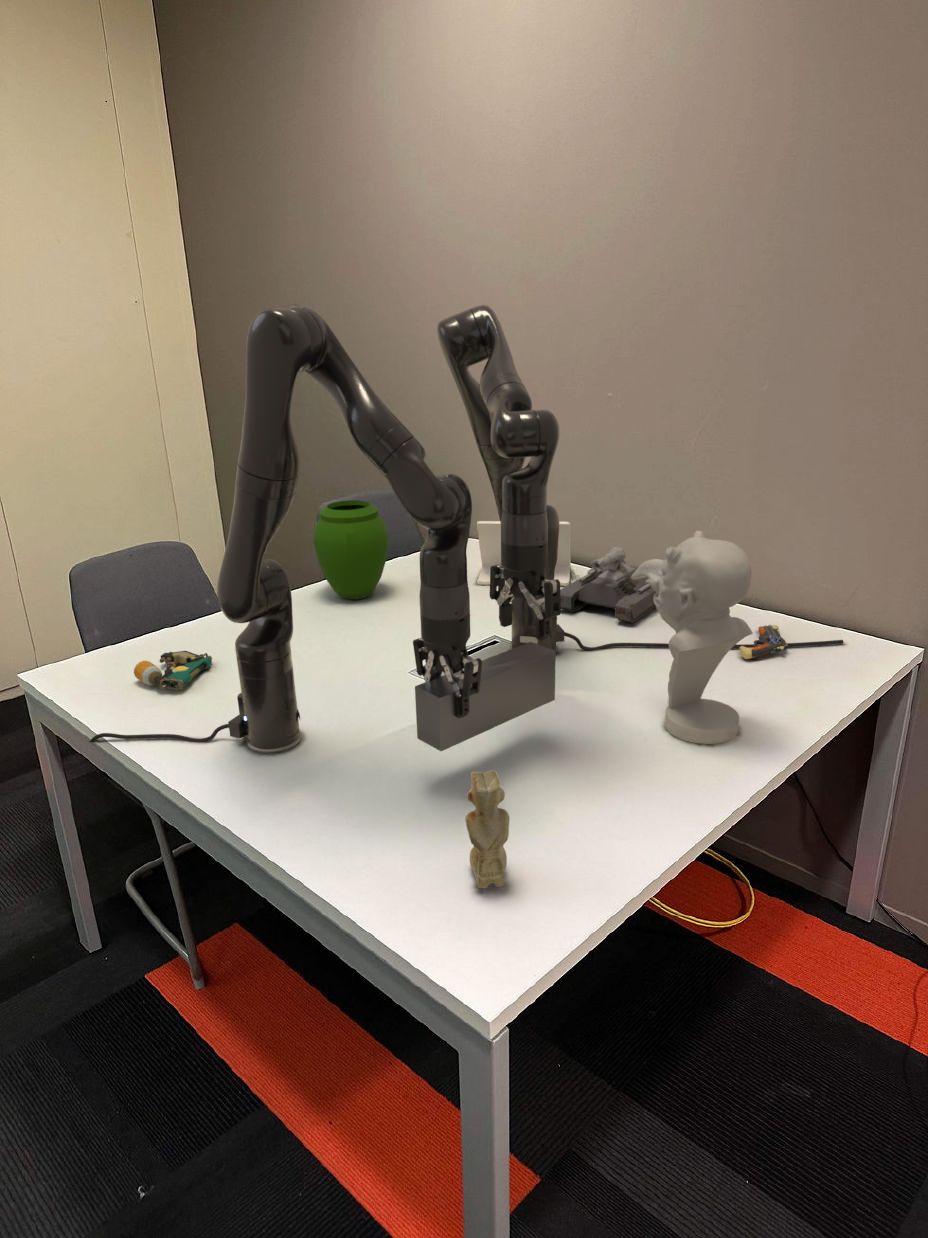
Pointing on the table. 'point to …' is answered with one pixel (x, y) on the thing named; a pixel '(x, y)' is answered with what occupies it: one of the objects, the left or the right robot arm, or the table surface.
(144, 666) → the spray gun
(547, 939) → the table surface
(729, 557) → the bust sculpture
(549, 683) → the bar
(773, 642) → the toy gun
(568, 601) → the toy
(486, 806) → the sculpture
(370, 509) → the vase
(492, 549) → the tablet stand
